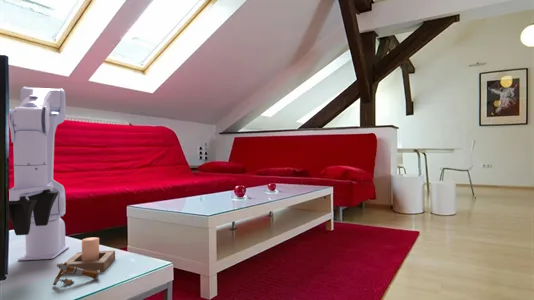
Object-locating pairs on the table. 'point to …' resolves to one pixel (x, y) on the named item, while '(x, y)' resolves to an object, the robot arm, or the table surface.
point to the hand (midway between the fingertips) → (32, 229)
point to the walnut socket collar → (92, 262)
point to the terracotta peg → (90, 249)
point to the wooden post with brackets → (74, 270)
